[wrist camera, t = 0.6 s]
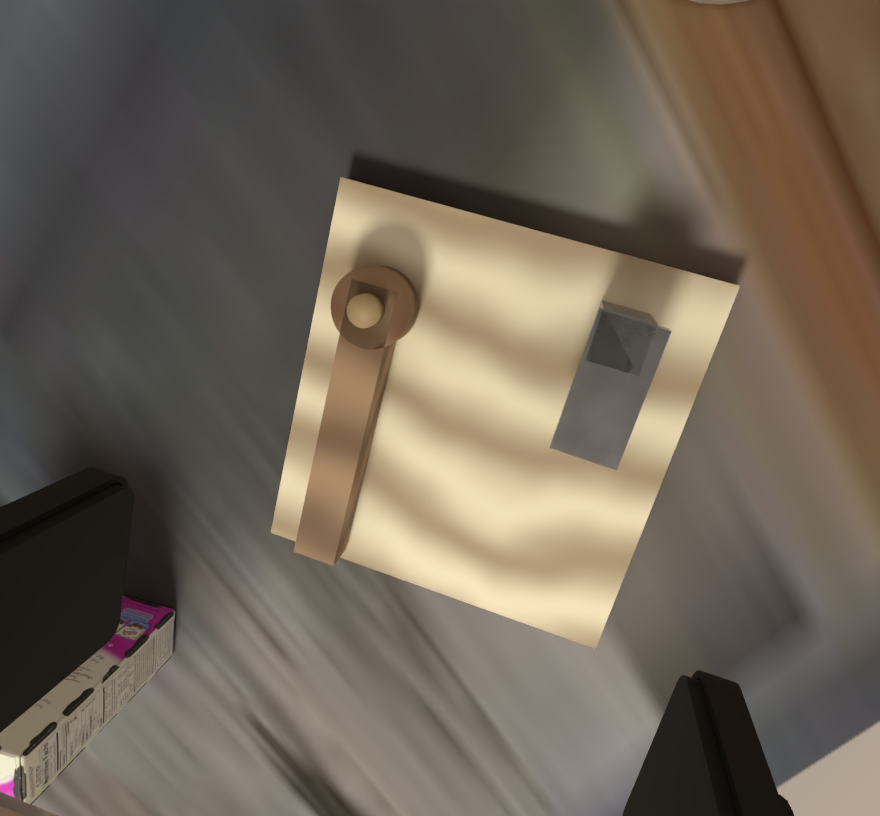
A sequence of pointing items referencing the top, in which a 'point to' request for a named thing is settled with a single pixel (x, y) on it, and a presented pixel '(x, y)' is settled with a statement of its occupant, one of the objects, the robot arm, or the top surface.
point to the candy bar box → (85, 701)
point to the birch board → (498, 409)
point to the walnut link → (353, 402)
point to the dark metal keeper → (610, 384)
